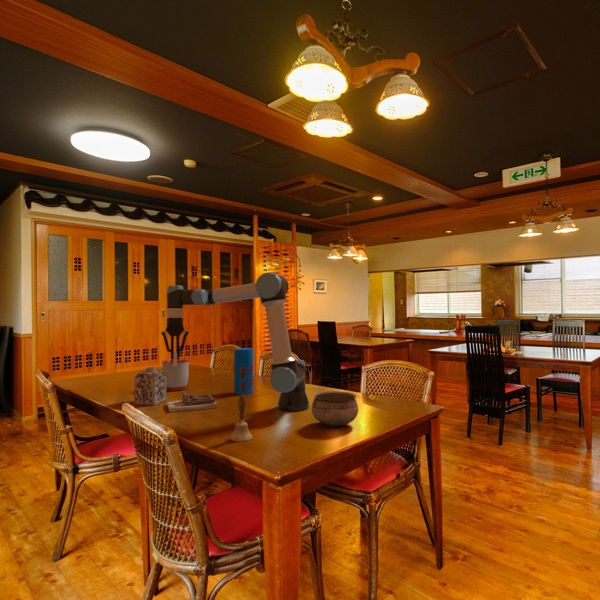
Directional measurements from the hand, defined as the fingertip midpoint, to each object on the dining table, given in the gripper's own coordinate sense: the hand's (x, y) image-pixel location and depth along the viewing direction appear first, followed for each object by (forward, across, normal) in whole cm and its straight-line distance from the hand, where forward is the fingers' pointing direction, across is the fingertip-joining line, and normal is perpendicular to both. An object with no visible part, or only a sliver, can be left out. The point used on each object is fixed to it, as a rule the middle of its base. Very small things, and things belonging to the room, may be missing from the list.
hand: (174, 366), depth 193 cm
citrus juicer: (+20, -5, -49) cm, 53 cm away
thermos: (+21, -40, -21) cm, 49 cm away
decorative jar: (+21, +10, -18) cm, 29 cm away
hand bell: (+21, -18, +57) cm, 63 cm away
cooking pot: (+21, -57, +57) cm, 83 cm away
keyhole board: (+20, -8, 0) cm, 22 cm away
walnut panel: (+18, -11, 0) cm, 21 cm away
